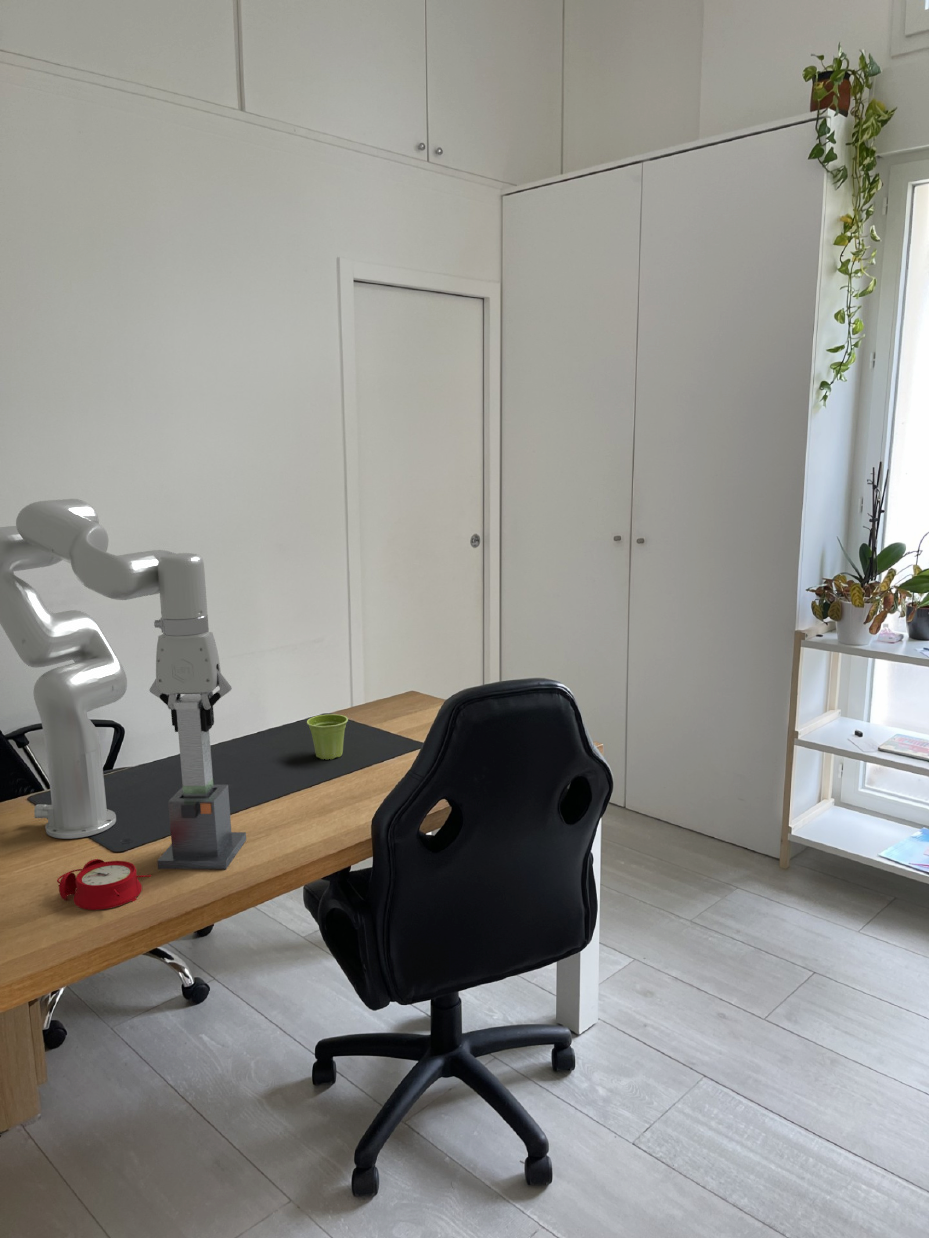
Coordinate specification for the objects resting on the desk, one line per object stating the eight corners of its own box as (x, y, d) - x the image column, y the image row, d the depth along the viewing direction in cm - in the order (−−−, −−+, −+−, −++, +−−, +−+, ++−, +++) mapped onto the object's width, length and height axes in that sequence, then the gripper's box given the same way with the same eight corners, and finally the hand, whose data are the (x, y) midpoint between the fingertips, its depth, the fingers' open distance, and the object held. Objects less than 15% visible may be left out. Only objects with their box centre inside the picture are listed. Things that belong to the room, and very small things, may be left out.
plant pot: (346, 762, 213) (344, 725, 211) (305, 762, 213) (303, 726, 212) (352, 748, 222) (350, 713, 221) (312, 749, 222) (310, 714, 221)
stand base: (157, 868, 161) (152, 805, 159) (182, 839, 173) (177, 780, 171) (226, 869, 160) (221, 805, 158) (246, 839, 172) (242, 780, 170)
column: (183, 820, 162) (174, 702, 159) (194, 807, 168) (185, 693, 164) (206, 820, 162) (197, 702, 158) (216, 807, 168) (207, 693, 164)
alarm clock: (113, 896, 144) (40, 861, 149) (109, 930, 146) (38, 895, 151) (159, 867, 154) (89, 835, 159) (155, 900, 155) (86, 868, 160)
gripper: (128, 631, 156) (137, 736, 159) (227, 630, 155) (234, 736, 158) (146, 622, 163) (154, 723, 166) (240, 621, 162) (247, 723, 165)
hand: (193, 728), depth 162 cm, fingers open, 4 cm apart
